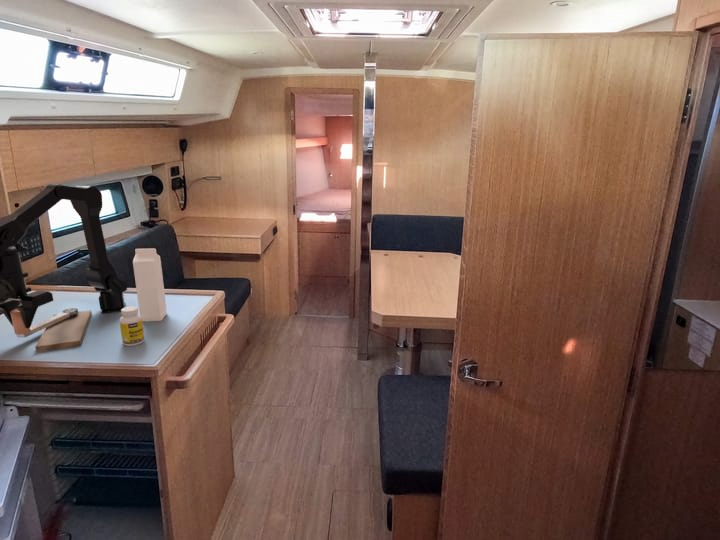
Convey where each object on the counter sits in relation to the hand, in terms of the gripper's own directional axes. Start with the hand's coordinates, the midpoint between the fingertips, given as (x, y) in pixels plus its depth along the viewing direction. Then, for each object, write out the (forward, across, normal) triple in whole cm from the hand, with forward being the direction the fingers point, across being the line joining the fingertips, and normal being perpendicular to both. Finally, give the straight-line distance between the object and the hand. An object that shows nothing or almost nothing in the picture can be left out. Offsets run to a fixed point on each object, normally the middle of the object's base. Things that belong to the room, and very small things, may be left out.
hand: (21, 327), depth 123 cm
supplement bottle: (+5, +28, +7) cm, 30 cm away
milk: (+5, +22, +24) cm, 33 cm away
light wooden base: (+5, +5, +9) cm, 11 cm away
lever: (+2, 0, +8) cm, 8 cm away
